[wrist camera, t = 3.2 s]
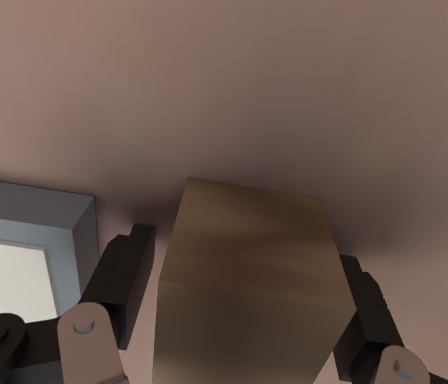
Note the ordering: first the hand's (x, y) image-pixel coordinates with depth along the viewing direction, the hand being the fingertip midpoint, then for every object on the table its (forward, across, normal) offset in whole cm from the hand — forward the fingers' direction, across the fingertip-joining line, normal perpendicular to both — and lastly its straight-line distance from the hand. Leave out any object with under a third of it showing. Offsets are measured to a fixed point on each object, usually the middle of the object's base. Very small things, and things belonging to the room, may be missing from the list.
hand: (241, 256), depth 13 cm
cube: (+1, 0, 0) cm, 1 cm away
